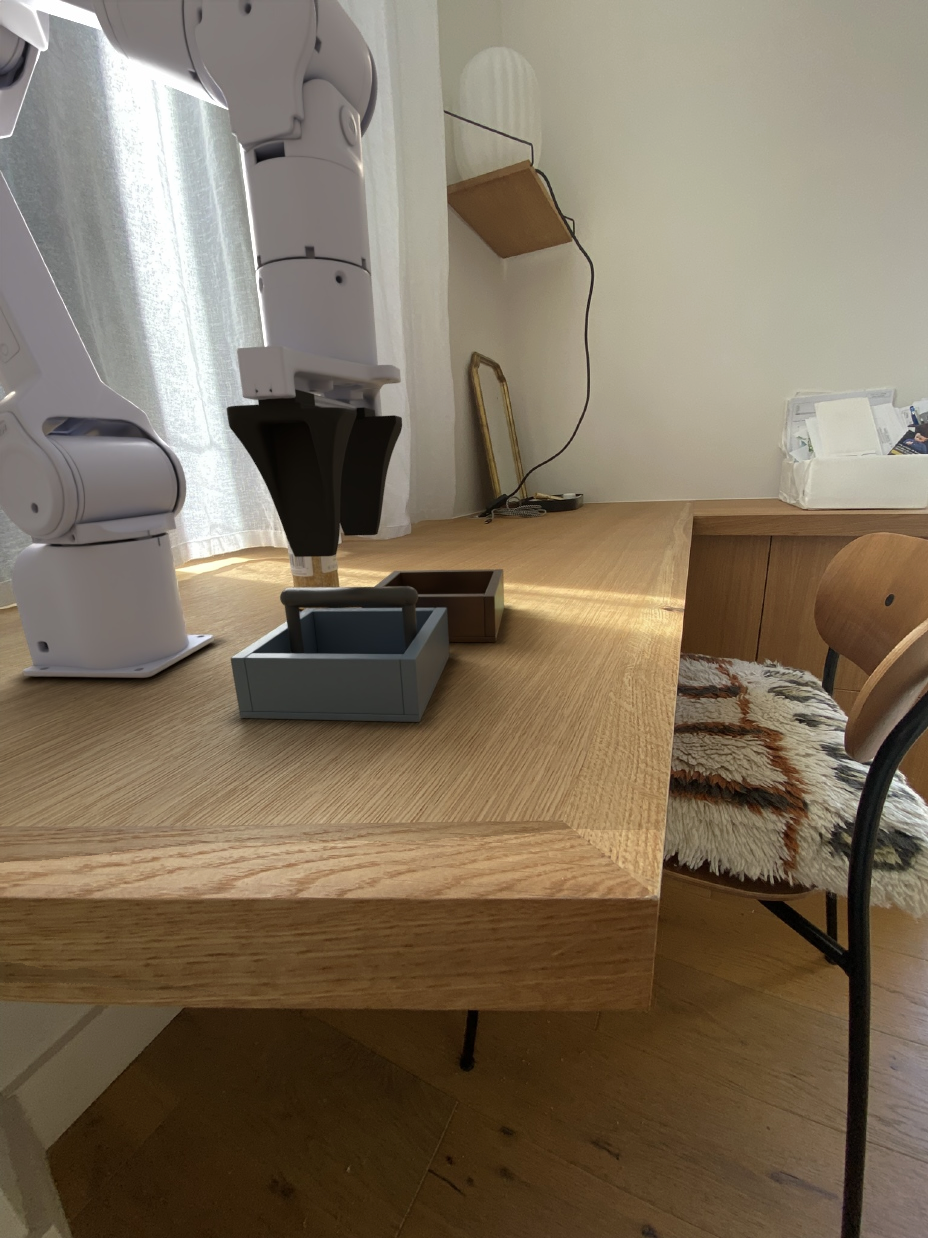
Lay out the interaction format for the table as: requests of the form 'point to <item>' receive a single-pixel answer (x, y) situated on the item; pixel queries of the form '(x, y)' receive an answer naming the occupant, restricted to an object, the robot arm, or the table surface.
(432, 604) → the bottom basket
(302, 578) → the sprinkles bottle
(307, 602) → the blue-gray basket with handle
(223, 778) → the table surface
